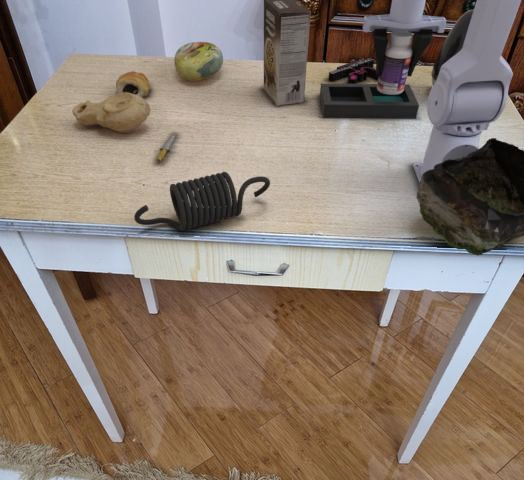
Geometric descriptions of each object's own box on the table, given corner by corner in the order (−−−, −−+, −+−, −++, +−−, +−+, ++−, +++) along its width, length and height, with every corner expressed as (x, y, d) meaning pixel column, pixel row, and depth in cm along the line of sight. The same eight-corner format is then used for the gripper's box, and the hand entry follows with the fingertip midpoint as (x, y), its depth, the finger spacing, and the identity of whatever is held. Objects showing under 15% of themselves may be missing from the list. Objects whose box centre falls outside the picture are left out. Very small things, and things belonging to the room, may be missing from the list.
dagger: (169, 130, 86) (179, 133, 86) (169, 135, 87) (179, 138, 87) (152, 156, 79) (164, 159, 79) (152, 161, 80) (164, 164, 80)
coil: (264, 204, 75) (272, 241, 70) (137, 201, 71) (135, 239, 66) (270, 164, 69) (279, 201, 64) (132, 158, 65) (130, 197, 60)
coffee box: (262, 88, 100) (262, -2, 87) (290, 85, 101) (294, -5, 89) (275, 106, 94) (278, 12, 82) (305, 102, 96) (312, 9, 83)
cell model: (172, 78, 98) (165, 26, 102) (186, 106, 105) (179, 56, 110) (219, 61, 96) (210, 9, 100) (231, 90, 103) (222, 40, 108)
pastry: (122, 82, 102) (119, 63, 99) (153, 82, 102) (150, 63, 99) (116, 100, 96) (112, 80, 93) (149, 100, 96) (145, 80, 93)
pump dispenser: (479, 107, 95) (510, 20, 83) (427, 103, 96) (451, 16, 84) (473, 87, 101) (501, 3, 89) (425, 83, 102) (446, 0, 90)
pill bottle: (403, 97, 90) (416, 39, 82) (375, 94, 91) (386, 37, 83) (404, 85, 93) (416, 29, 86) (377, 83, 94) (387, 27, 87)
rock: (431, 210, 56) (397, 256, 65) (584, 250, 57) (530, 290, 66) (437, 110, 63) (406, 164, 73) (572, 147, 64) (525, 196, 74)
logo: (366, 56, 108) (400, 69, 103) (365, 64, 109) (398, 77, 104) (325, 70, 102) (358, 85, 97) (324, 78, 103) (357, 93, 99)
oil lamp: (80, 123, 91) (67, 99, 87) (149, 101, 91) (139, 75, 87) (85, 154, 85) (71, 129, 81) (158, 130, 86) (148, 104, 82)
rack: (415, 118, 91) (419, 105, 90) (323, 117, 92) (324, 104, 90) (406, 96, 98) (409, 84, 96) (319, 96, 98) (320, 83, 96)
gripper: (447, -18, 82) (426, 66, 92) (366, -19, 82) (354, 65, 92) (458, -7, 77) (434, 81, 88) (371, -8, 77) (358, 80, 88)
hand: (393, 74), depth 90 cm, fingers closed on pill bottle, 5 cm apart
